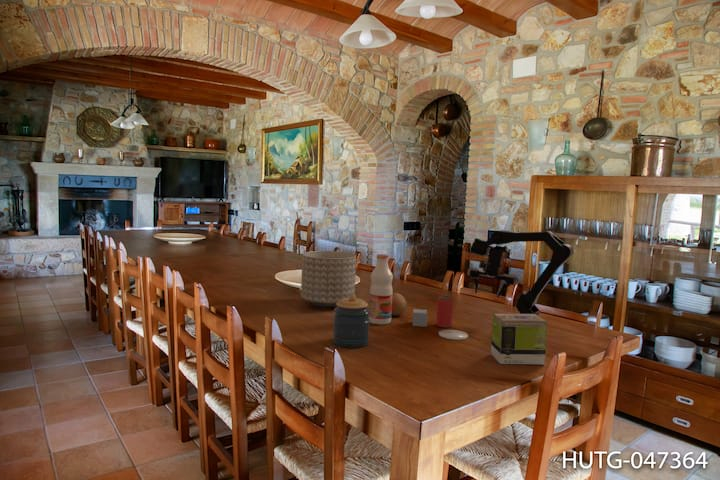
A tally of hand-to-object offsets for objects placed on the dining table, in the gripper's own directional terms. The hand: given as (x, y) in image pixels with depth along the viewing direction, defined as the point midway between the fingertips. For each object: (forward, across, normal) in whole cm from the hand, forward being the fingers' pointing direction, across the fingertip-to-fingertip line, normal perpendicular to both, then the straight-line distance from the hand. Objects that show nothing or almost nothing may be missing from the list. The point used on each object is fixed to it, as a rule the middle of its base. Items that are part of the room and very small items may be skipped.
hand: (486, 295), depth 199 cm
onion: (+18, +36, -3) cm, 40 cm away
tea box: (+8, -4, +44) cm, 45 cm away
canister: (+17, +51, +38) cm, 66 cm away
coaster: (+12, +14, +21) cm, 28 cm away
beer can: (+14, +16, +9) cm, 23 cm away
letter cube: (+15, +26, +9) cm, 31 cm away
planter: (+23, +67, -15) cm, 72 cm away
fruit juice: (+18, +42, +9) cm, 46 cm away
